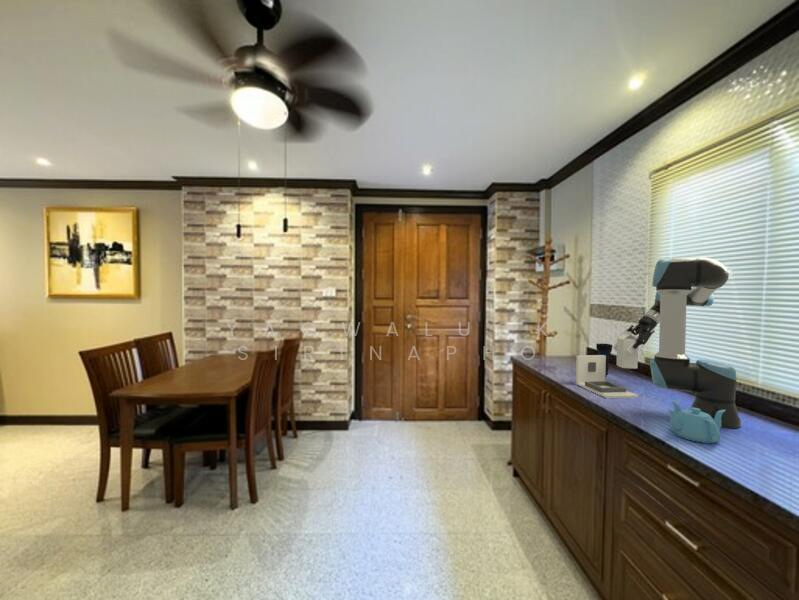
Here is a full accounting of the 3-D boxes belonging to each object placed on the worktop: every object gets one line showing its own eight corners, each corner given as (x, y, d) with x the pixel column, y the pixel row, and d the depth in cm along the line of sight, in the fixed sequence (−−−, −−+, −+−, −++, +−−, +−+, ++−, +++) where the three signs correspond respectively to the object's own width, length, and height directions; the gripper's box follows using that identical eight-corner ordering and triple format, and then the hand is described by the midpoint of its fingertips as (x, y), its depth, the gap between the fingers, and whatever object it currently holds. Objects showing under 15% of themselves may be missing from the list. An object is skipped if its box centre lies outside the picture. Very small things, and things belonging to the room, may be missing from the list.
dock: (637, 397, 167) (638, 364, 166) (606, 398, 165) (607, 365, 164) (603, 384, 190) (603, 355, 190) (575, 384, 189) (576, 355, 188)
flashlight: (594, 378, 203) (595, 344, 202) (597, 375, 209) (597, 342, 208) (609, 380, 198) (610, 345, 197) (612, 378, 204) (613, 344, 203)
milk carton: (622, 368, 180) (623, 331, 179) (616, 365, 187) (617, 330, 186) (637, 369, 179) (638, 332, 178) (630, 366, 186) (631, 330, 185)
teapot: (720, 451, 112) (721, 419, 111) (662, 436, 123) (663, 407, 122) (724, 438, 122) (725, 409, 121) (670, 425, 133) (671, 398, 132)
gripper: (672, 327, 173) (642, 359, 172) (638, 323, 195) (611, 352, 193) (663, 316, 173) (632, 349, 171) (630, 314, 194) (602, 342, 192)
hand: (621, 350), depth 182 cm, fingers closed on milk carton, 9 cm apart
